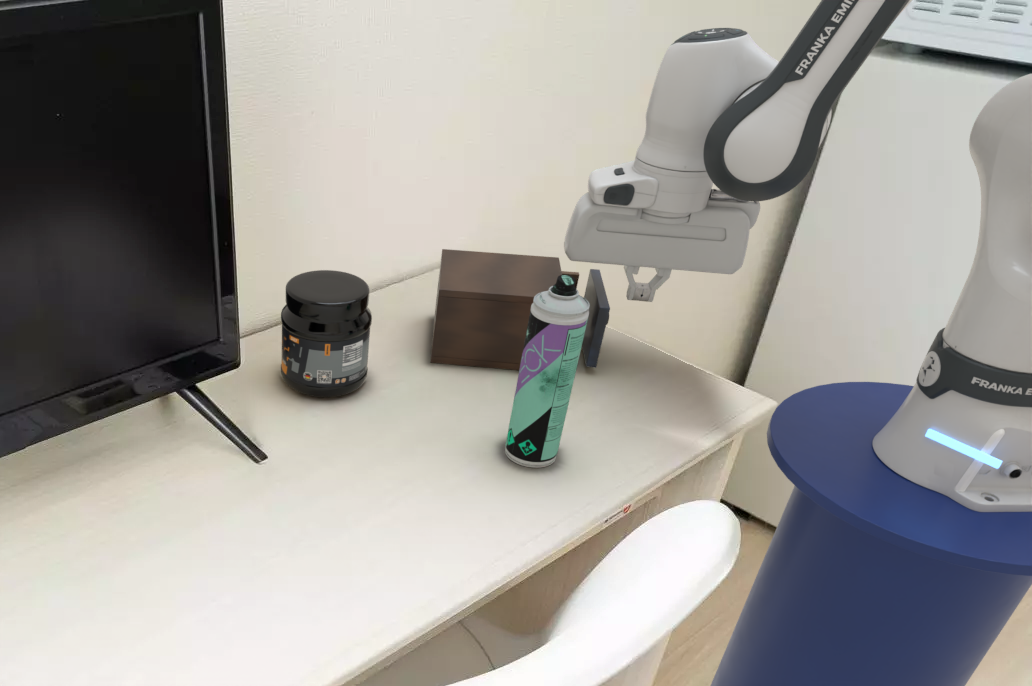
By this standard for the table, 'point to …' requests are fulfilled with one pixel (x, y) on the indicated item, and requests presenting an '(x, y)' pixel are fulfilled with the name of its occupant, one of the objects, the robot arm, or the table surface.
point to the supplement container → (325, 333)
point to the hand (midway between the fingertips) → (638, 299)
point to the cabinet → (487, 306)
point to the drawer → (593, 315)
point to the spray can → (546, 374)
